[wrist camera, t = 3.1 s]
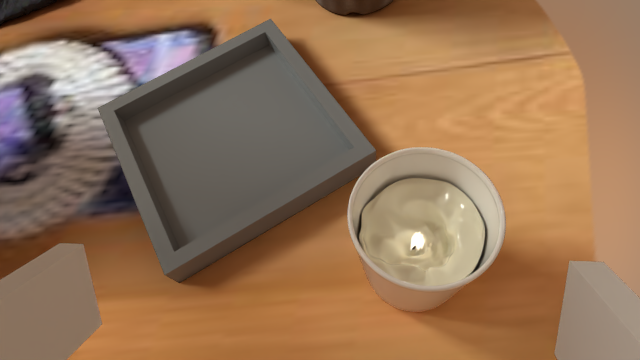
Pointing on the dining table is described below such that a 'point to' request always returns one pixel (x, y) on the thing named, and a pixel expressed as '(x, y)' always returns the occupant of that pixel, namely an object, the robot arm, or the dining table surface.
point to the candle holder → (424, 226)
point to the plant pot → (353, 5)
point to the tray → (231, 147)
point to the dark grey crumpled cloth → (20, 7)
